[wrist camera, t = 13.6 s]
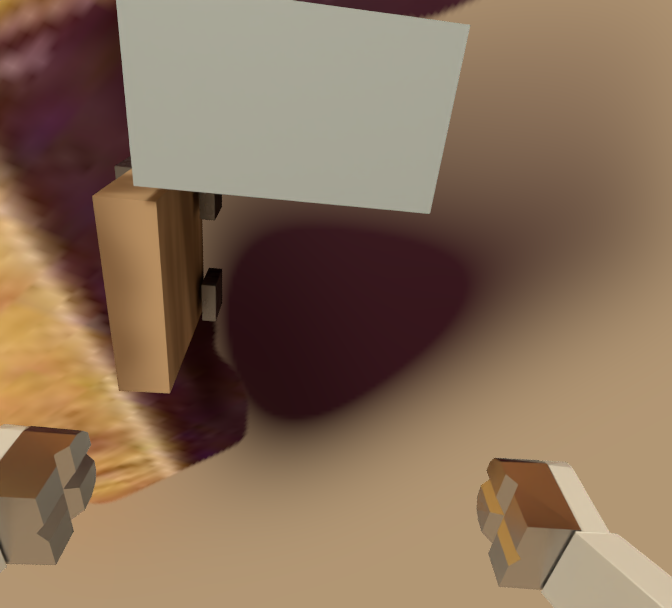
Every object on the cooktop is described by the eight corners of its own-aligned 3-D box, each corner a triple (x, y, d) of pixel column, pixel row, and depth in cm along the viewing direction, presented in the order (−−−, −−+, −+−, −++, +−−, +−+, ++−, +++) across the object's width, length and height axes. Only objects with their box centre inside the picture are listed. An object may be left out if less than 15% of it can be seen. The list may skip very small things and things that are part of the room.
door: (200, 156, 33) (156, 201, 23) (204, 305, 38) (169, 393, 29) (141, 149, 32) (70, 194, 23) (153, 302, 38) (101, 389, 28)
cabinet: (412, 32, 30) (470, 25, 19) (391, 161, 33) (429, 213, 23) (185, 2, 28) (113, -25, 18) (190, 140, 32) (133, 185, 21)
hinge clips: (221, 165, 33) (214, 175, 30) (222, 302, 38) (215, 321, 36) (130, 156, 32) (114, 166, 30) (143, 296, 37) (131, 315, 35)
